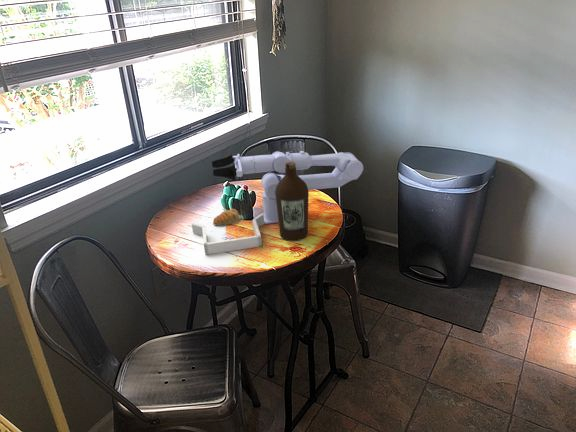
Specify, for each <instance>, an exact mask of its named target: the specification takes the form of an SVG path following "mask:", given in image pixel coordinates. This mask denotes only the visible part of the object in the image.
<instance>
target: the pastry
mask: <svg viewBox="0 0 576 432" xmlns="http://www.w3.org/2000/svg"><path fill="white" fill-rule="evenodd" d="M231 209H232V210H231ZM231 209H229V210H225V211H222V212H221V213H220V214H219V215H217V216H216V217H214V218H213V219H212V220H213V222H212V224H213V225H215V226H219V227H222V226H228V225H232V224H234V223H237V222H239V221H240V220H241V216H240V214H239V212H238V210H236V209H235V208H231Z"/></svg>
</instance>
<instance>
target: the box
mask: <svg viewBox="0 0 576 432" xmlns="http://www.w3.org/2000/svg"><path fill="white" fill-rule="evenodd" d="M264 224H265V222H264V214H262V213H260V214H258V215H257V216H256V217H253V219H252V229H253V232H254V235H250V236H245V237H239V238H232V239H225V240H224V239H223V240H219V241H218V240H217V241H211V242H208V238H207V237H208V236H207V230H206V226H205V225H202V224H198V223H192V224H191V228H192V233H193V234H194V235H197V236H200V237H203V239H202V240H203V247H204V248H203V249H204V254H205V256H206V255H211V254H218V253H225V252H231V251H233V252H234V251H238V250H244V249H252V248H257V247H259V248H260V247H263V244H262V243H263V242H262V235H261V232H260V229H259V228H260V227H261V226H263V225H264Z"/></svg>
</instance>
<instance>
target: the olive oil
mask: <svg viewBox="0 0 576 432" xmlns="http://www.w3.org/2000/svg"><path fill="white" fill-rule="evenodd" d="M285 166H286V167H285V173H284V175H285V176H284V177H283V178H282V179H281V180H280V182H279V183H278V184H277V186H276V190H275V196H276V204H277V212H278V220H279V222H278V229H279V230H278V231H279V235H280V238H282V239H283V240H285V241H289V242H296V241H301V239H302V240H304V239H305V238H307V237H308V236H309V196H310V195H309V193H310V192H309V190H308V187H307V185H306V183H305V182H304V181H303V180H302V179H301V178H300V177H299V176H300V175H299V174H297V170H296V167H295V162H287V163H285Z"/></svg>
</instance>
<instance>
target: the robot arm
mask: <svg viewBox="0 0 576 432" xmlns="http://www.w3.org/2000/svg"><path fill="white" fill-rule="evenodd" d="M287 162H295V167H296V171H299V170H308V169H309V168H310V167H311V166H313V167H314V166H319V167H321V166H322V167H323V166H326V167H328V166H329V167H330V166H331V167H335V168H334V169H333V170H332V172H328V173H325V172H324V173H314V174H302V175H301V174H300V175H298V176H299V177H300V178H301V179H302V180H303V181H304V182H305V183H306V185H307V187H308V191H312V190H322V189H325V190H326V189H333V188H340V187H342V186H344V185H346V184H348V183H349V182H351V181H354V180H355V181H357V179H358V178H360V176H361V175H362V173H363V171H364V165H363V163H362V162H361V161H360V160H359V159H358V158H357V157H356V156H355V155H354V154H353V152H349V151H348V152H347V151H346V152H341V151H339V152H337V153H326V154H315V155H310V154H309V153H308V152H305V151H304V150H299V152H289V151H287V152H285V153H284V152H281V151H279V150H277V151H274V152H272V154H261V155H249V156H240V153H237V155H233V154H232V153H230V152H229V153H228V154H227V155H224V156H223V157H219V158H217V159H214V160H211V164H212V168H213V169H212V174H213V176H214V177H220V178H227V179H230V180H232V181H236V178H241V177H243V175H249V174H257V173H259V174H260V173H266V174H264V175H263V176H262V178H261V181H260V182H261V185H262V187H263V193H262V195H261V196H262V205H263V213H261V214H264V224H266V225H268V224H274V223H279V220H278V212H277V204H276V196H275V190H276V186H277V184H278V183H279V182H280V180H281V179H282V178H283V177H284V176H285V175H286V173H285V167H286V166H285V163H287ZM274 172H277V173H279V174H276V173H274Z"/></svg>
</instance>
